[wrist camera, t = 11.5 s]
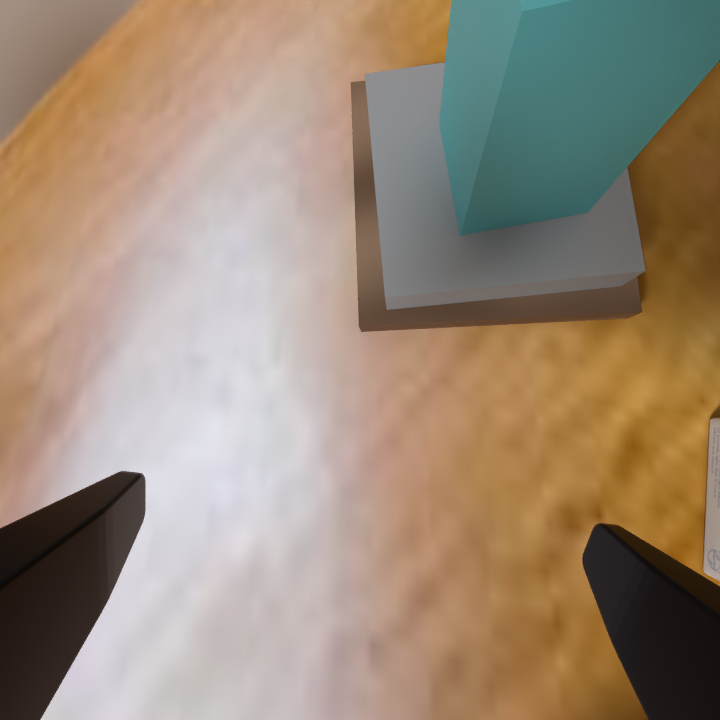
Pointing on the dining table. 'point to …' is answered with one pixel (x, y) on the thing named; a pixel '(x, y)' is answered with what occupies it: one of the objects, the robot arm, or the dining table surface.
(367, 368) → the dining table surface
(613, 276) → the grey slab
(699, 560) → the dining table surface
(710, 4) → the teal block
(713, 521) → the light bulb box
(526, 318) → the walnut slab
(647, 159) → the dining table surface
